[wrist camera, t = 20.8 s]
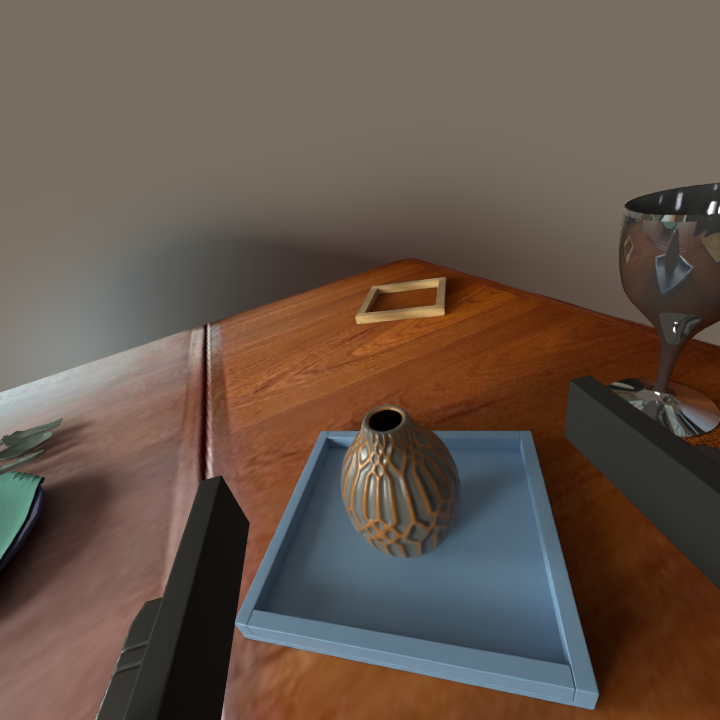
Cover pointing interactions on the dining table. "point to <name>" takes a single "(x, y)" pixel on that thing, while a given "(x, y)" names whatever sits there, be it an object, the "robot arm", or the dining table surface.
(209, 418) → the dining table surface
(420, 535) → the vase
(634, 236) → the wine glass
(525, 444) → the blue tray
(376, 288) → the oak frame
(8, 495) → the cutlery set
